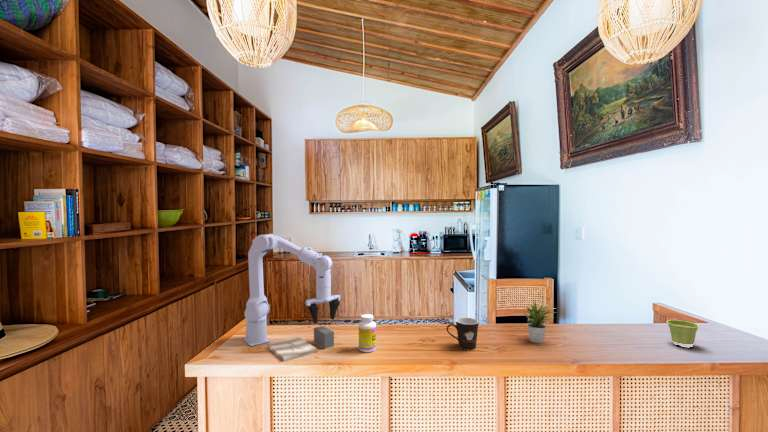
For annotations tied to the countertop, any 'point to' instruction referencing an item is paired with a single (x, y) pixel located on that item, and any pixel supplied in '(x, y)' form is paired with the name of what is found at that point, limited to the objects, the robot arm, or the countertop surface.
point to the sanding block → (324, 337)
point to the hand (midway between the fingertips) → (323, 320)
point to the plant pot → (682, 331)
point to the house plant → (537, 322)
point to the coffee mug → (466, 332)
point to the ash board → (292, 348)
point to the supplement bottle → (367, 333)
